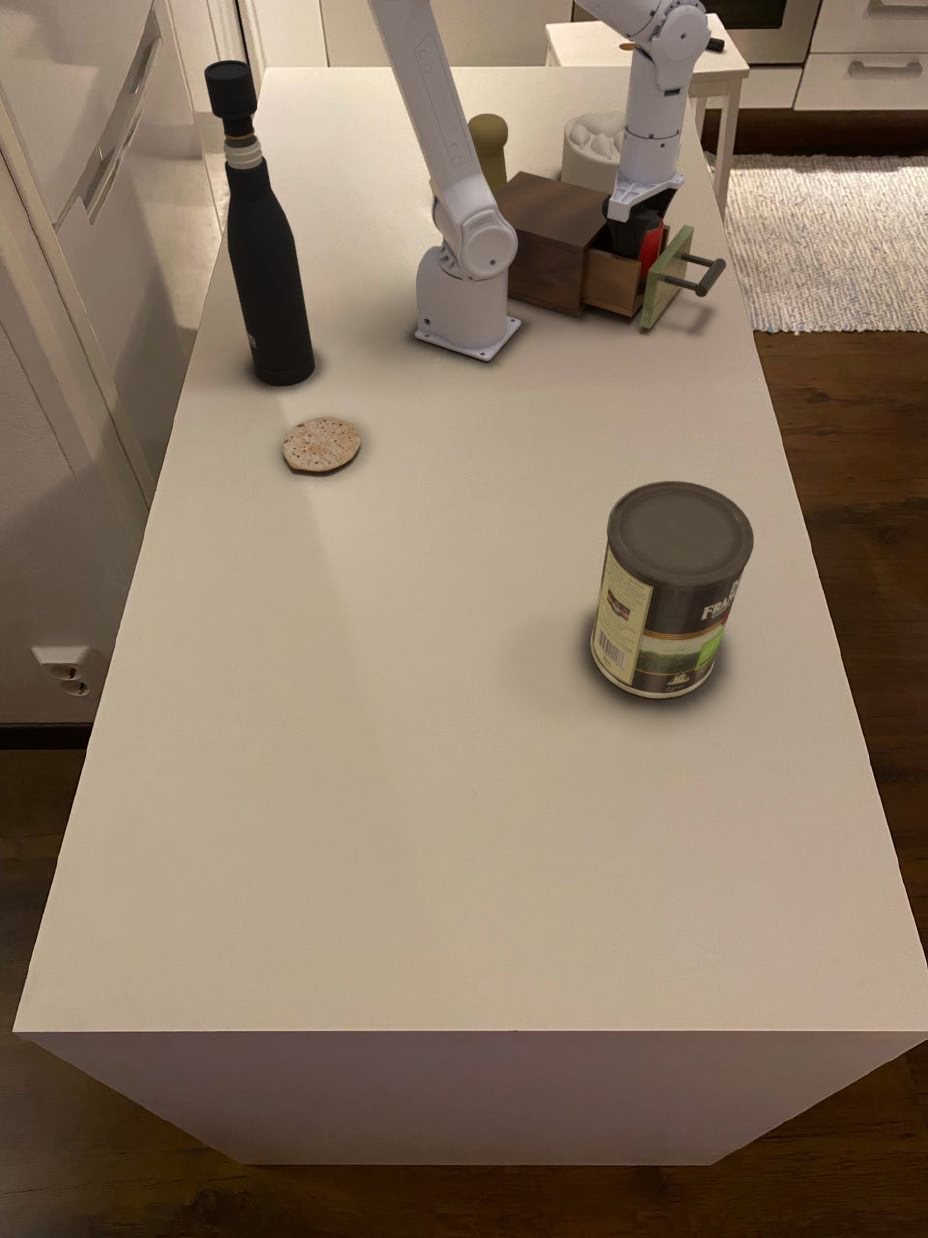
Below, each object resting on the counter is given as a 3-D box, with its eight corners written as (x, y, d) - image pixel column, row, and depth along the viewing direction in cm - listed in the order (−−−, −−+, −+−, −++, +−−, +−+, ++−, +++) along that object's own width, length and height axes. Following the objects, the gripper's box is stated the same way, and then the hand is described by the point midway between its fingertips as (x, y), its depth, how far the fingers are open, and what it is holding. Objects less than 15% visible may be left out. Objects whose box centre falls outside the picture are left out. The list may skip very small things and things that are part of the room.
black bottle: (324, 355, 103) (278, 58, 80) (299, 391, 100) (243, 89, 76) (271, 344, 105) (211, 48, 81) (245, 379, 101) (173, 79, 78)
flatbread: (311, 413, 97) (309, 406, 96) (375, 434, 95) (374, 426, 94) (267, 462, 93) (265, 454, 92) (333, 485, 91) (331, 477, 90)
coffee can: (734, 631, 79) (775, 511, 68) (684, 720, 74) (720, 606, 63) (623, 582, 83) (645, 461, 72) (567, 664, 77) (582, 546, 66)
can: (604, 269, 105) (609, 225, 101) (622, 247, 108) (628, 204, 104) (646, 281, 103) (653, 237, 99) (663, 259, 106) (671, 215, 102)
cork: (505, 220, 120) (507, 131, 112) (459, 215, 121) (457, 127, 113) (513, 196, 124) (516, 108, 116) (468, 192, 125) (467, 104, 116)
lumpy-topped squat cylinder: (631, 166, 129) (639, 99, 122) (653, 216, 121) (664, 147, 114) (555, 171, 128) (559, 104, 121) (573, 221, 120) (578, 153, 113)
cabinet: (618, 267, 113) (627, 198, 107) (577, 317, 107) (583, 247, 100) (517, 238, 118) (519, 170, 111) (472, 285, 111) (471, 215, 105)
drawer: (724, 293, 108) (737, 237, 103) (691, 341, 103) (703, 285, 97) (585, 254, 114) (591, 199, 108) (547, 298, 108) (551, 242, 103)
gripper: (663, 166, 89) (643, 295, 99) (716, 105, 96) (693, 230, 107) (594, 149, 91) (582, 277, 101) (652, 91, 99) (635, 215, 109)
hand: (635, 252), depth 104 cm, fingers closed on can, 5 cm apart
